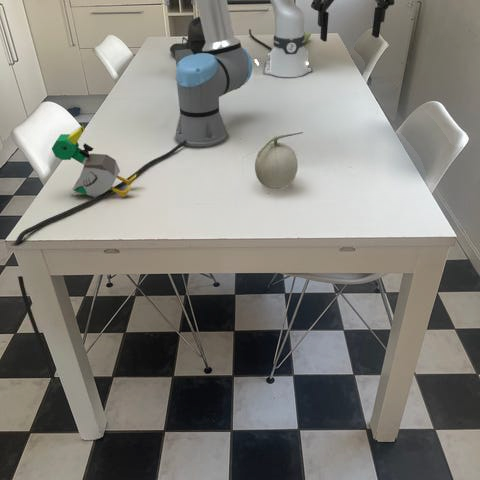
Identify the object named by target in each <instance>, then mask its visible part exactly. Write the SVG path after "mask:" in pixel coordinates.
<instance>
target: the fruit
mask: <svg viewBox="0 0 480 480" xmlns="http://www.w3.org/2000/svg"><path fill="white" fill-rule="evenodd" d="M301 134H304V131H300V132H295V133H289V134H283V135H282V134H281V135H278V136H274V137H273V138H271V139H270V140H269V141H268V142H266V144H265V145H264V146H262V147H261V148H260V150H259V151H258V153H257V154H256V158H255V159H254V160H255V161H254V171H255V175H256V179H257V180H258V182H259V183H260V184H261V185H262V186H264V187H265V188H267V189H268V190H274V191H276V190H282V189H285V188H287V187H288V186H290V185H291V184H292V182H293V181H294V180H295V178H296V176H297V173H298V167H299V166H298V158H297V155H296V153H295V150H294V149H293V148H292V147H291V146H290V145H288V144H286V143H284V142H281V141H280V142H279V140H281V139H283V138H287V137H293V136H296V135H301Z"/></svg>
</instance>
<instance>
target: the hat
mask: <svg viewBox="0 0 480 480" xmlns="http://www.w3.org/2000/svg"><path fill="white" fill-rule="evenodd" d="M184 40H185V41H186V42H184ZM205 43H206V41H205V37H204V33H203V28H202V24H201V19H200V16H197V17H195V18H193V19H192V20H191V21H190V22H189V24H188V29H187V38H186V37H185V36H183V37H182V42H179V43H173V44H171V46H170V47H169V51H170V53H171V54H172V56H173V57H175V58H176V56H175V50H185V49H191V51H192V52H193V54H194V55H195V54H198V53H203V51H202V49H203V47H204V45H205Z"/></svg>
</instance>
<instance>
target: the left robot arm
mask: <svg viewBox="0 0 480 480" xmlns="http://www.w3.org/2000/svg"><path fill="white" fill-rule="evenodd" d="M334 1H335V0H312V2H311V5H310V8H311V9H312V10H314V11H316V12H317V26H318V27H320V34H319V35H320V36H319V39H320V40H321V41H322V42H325V43H326V42H327V41H328V27H329V15H330V13H329V12H328V11H327V10H328V9H329V8H330V6H331V5H332V4H333V3H334ZM374 1H375V3H376V4H377V5H378V6H376V7H374V14H373V23H372V31H371V36H373V37H374V38H376V39H378V38H380V32H381V25H382V23H384V22H385V19H386V11H387V10H388V9H389V7H390V6H394V5H395V3H396V2H395V0H374ZM195 3H196V6H197V10H198V15H199V17H200V19H201V24H202V28H203V33H204V37H205V41H206V43H205V45H204V47H203V49H202V51H203V53H198V54H195V55H189V56H186V57H184V58H183V59H181V60H180V61H179V62H178V64H177V67H176V66H175V67H176V69H175V71H176V74H175V80H176V86H177V96H178V97H177V98H178V106H179V116H178V121H177V125H176V130H175V140H176V142H177V143H178V144H177V145H176V146H175V147H174V148H172V149H171V150H170V151H168V152H166V153H164V154H163V155H160V156H158V157H155V158H154V159H152V160H150V161H149V162H147V163H146V164H144V165H143V166H142V167H140V168H139V169H138V170H136V171H135V172H134V173H133V174H131V175H130V176H129V177H127V178H126V179H127V180H129V179H131V178H132V177H133V176H134V175H135V174H136V177H138V176H139V175H140V174H142V173H143V172H144V171H145V170H146V169H148V168H149V167H151V166H152V165H153V164H155V163H157V162H160V161H162V160H164V159H166V158H168V157H170V156H171V155H173V154H174V153H175V152H176V151H178V150H179V149H180V148H182V147H183V146H184V147H188V148H197V149H199V148H200V149H201V148H211V147H214V146H217V145H219V144H222V143H223V142H224V141H225V140H226V139H227V128H226V126H225V123H224V120H223V117H222V115H221V112H220V97H223V96H224V95H226V94H229V93H230V92H233V91H236V90H238V89H240V88H241V87H242V86H244V85H246V84H247V83H248V81H250V78H251V76H252V75H253V74H252V73H253V61H252V57H251V55H250V53H249V52H247V50H246V49H245V48H244V47H242V43H241V40H240V39H238V38H237V37H235V35H234V28H233V25H232V19H231V15H230V10H229V4H228V0H195ZM125 185H127V184H126V183H125V182H123V181H121V182H120V183H118V184H117V185H114V186H113V187H114V188H116V189H118V190H120V188H122V187H123V186H125ZM114 192H115V191H113V190H111V189H109V190H107V191H106V192H104V193H102V194H101V195H99V196H97V197H92V198H91V199H88V200H87V201H85V202H82V203H80V204H78V205H76V206H74V207H72V208H69V209H67V210H65V211H63V212H61V213H58V214H56V215H53V216H51V217H48V218H46V219H44V220H42V221H40V222H38V223H36V224H34V225H32V226H30V227H28V228H26V229H24V230H22V231H21V232H20V233H19V234H18V236H17V238H16V240H15V242H14V246H19V245H21V243H22V240H23V238H24V237H25V236H26V235H28V234H29V233H31V232H34V231H36V230H38V229H39V228H42V227H44V226H45V225H47V224H50V223H51V222H54V221H56V220H59V219H61V218H64V217H66V216H68V215H71V214H72V213H74V212H77V211H79V210H81V209H83V208H85V207H88V206H89V205H91V204H93V203H95V202H97V201H100V200H101V199H103V198H106V197H107V196H109V195H111V194H112V193H114ZM17 280H18V285H19V288H20V292H21V297H22V300H23V303H24V306H25V309H26V312H27V315H28V319H29V322H30V323H31V326H32V329H33V332H34V335H35V337H36V339H37V342H38V345H39V347H40V350H41V352H42V355H43V358H44V361H45V363H46V367H47V369H48V372H49V376H50V379H51V380H55V379H56V375H55V372H54V369H53V366H52V364H51V361H50V358H49V355H48V353H47V350H46V347H45V344H44V341H43V339H42V336H41V334H40V331H39V328H38V326H37V323H36V320H35V318H34V314H33V311H32V308H31V305H30V302H29V297H28V295H27V291H26V286H25V283H24V276H23V275H20V276H17Z"/></svg>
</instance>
